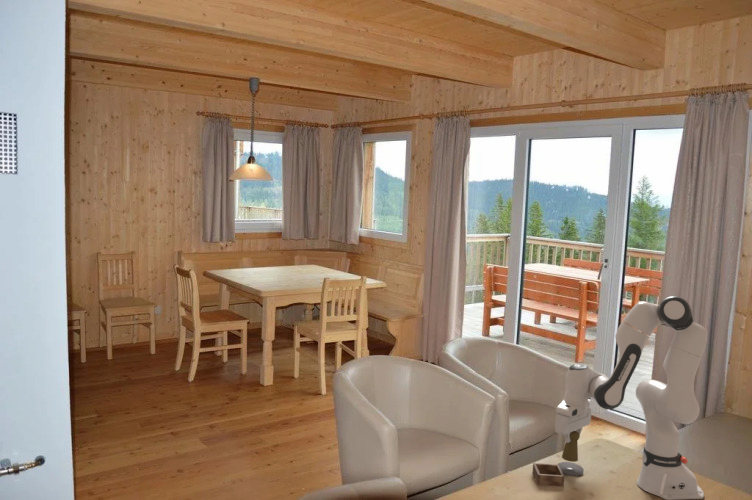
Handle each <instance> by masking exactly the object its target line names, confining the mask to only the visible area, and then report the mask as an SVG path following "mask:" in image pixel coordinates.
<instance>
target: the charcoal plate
mask: <svg viewBox="0 0 752 500" xmlns="http://www.w3.org/2000/svg"><path fill="white" fill-rule="evenodd" d="M557 464H558V465H559V467H560V469H561V471H562V472H563V474H564V476H568V477H581V476H583V475H584V471H585V470H584V468H583V467H582V465H579V464H577V463H574V462H571V461H561V462H559V463H557Z"/></svg>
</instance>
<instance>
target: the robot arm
mask: <svg viewBox="0 0 752 500" xmlns="http://www.w3.org/2000/svg"><path fill="white" fill-rule="evenodd" d="M692 314H693V313H692V309H691V306H690V304H689V303H688V301H687V300H686V299H684V298H683V297H681V296H676V295H669V296H668V297H665V298H664V299H662V300H661V301H660V303H659V304H656V305H655V304H653V303H651V302H649V301H639V302H636V303H635V305H634V306H633V307H632V308H631V309H630V310H629V311H628V312H627V313H626V315H625V316H624V318H623V320H622V321H621V323H620V324H619V326H618V327H617V329H616V333H615V342H616V344H617V347H618V351H619V357H618V360H617V363H616V365H615V367H614V369H613V370H612V373H611V375H610V376H609V377H608V376H607V375H606V374H604V373H602V372H599V371H596V370H595V369H593V368H591V366H589V365H588V364H585V363H575V364H571V365H570V366H569V368H568V369H567V372H566V376H565V383H564V384H565V385H564V388H565V392H564V396H563V399H562V401H561V402H560V403H559V404H558V405H557V406H556V407H555V412H556V413H557V414H556V416H555V421H554V422H555V423H554V430H555V433H557V434H559V435H562V436H564V442H566V443H569V442H571V438H570V437H569V435H570V432H573V431H577V432H578V433H579V439H580V437H581V433H582V431H583V428H584V427H587V426H589V425H590V424H591V422H592V421H591V419H592V409H591V405H590V403H589V399H590V398H591V399H594V400H595V402H596V404H597V405H599V407H600V408H602V409H604V410H613V409H617V408H618V407H620V406H621V404H622V403H623V402H624V400H625V394H626V393H625V392H626V388H627V386H628V384H629V382H630V379H631V377H632V376H633V374H634V372H635V370H636V368H637V366H638V364H639V362H640V359H641V356H642V353H643V350H644V348H645V345H646V344H647V342H648V341H649V338H650V336H652V334H653V332H654V330H655V329H656V328H657V327H658V326H659V325H660V326H666V327H670V328H672V329H673V337H672V340H671V342H670V345H669V348H668V350H667V353H666V355H665V357H664V359H663V360H664V361H663V362H662V366H663V367H662V368H663V370H664V372H665V374H666V383H665V382H662V381H660V380H657V379H648V378H647V379H642V380H641V381H640V382H639V383H638V384H637V386H636V389H635V397H636V398H637V401H638V402H639V404H640V405H641V408H642V411H643V416H644V421H645V427H646V429H645V431H646V432H645V444H644V445H645V446H643V452H642V466H641V469H640V472H639V476H638V478H637V480H636V484H637V486H638V487H639V488H640V489H641V490H643V491H645V492H648V494H649V493H650V494H652V495H655V496H658V497H660V498H662V499H663V500H696V499H697V500H702V499H704V497H705V496H704V495H705V494H704V491H703V490H702V488H701V487H700V486H699V485H698V481H697V477H696V476H695V474H694V473H693V472H692V471H691V470H690V469H689V468H688V467H687V466H686V464H687V463H688V462H689V461H688V458H686V457H685V456H683V455H682V454H681V453H680V452H679V445H680V431H679V429H678V428H677V427H676V425H675V423H679V424H683V425H690V424H692V423H694V422H695V421H696V420H697V418H698V417H699V415H700V411H701V410H700V405H699V402H698V400H697V397H696V394H695V377H696V375H697V373H698V369H699V366H700V363H701V361H702V358H703V356H704V353H705V350H706V345H707V340H708V334H709V333H708V331H707V329H706V328H705V327H704V326H703V325H701V324H699V323H697V322H695V321H694V319H693V315H692ZM674 422H675V423H674Z"/></svg>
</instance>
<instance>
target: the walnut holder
mask: <svg viewBox="0 0 752 500" xmlns="http://www.w3.org/2000/svg"><path fill="white" fill-rule="evenodd" d="M532 474H533V477H534V479H535V483H536V485H537V486H545V487H546V486H548V487H561V488H564V487H565V476H566V475H564V474H563V472H562V471H561V469H560V467H559V465H558V463H557V464H555V463H541V462H540V463H539V462H533V463H532Z"/></svg>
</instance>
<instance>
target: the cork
mask: <svg viewBox="0 0 752 500" xmlns="http://www.w3.org/2000/svg"><path fill="white" fill-rule="evenodd" d="M569 437H570V438H571V442H569V443H566V442H565V441H564V442H565V443H564V447H563V451H562V455H561V458H562V459H563V460H564V461H566V462H571V463H574V462H578V461H579V450H578V445H579V443H578V440H579V439H580V438H579V433H578V432H577V431H576V430H575V431H573V432H570V435H569Z"/></svg>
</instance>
